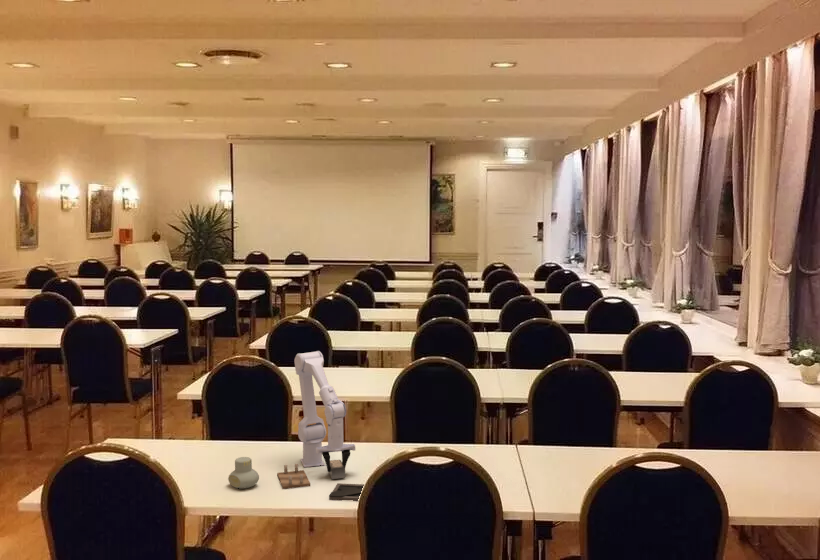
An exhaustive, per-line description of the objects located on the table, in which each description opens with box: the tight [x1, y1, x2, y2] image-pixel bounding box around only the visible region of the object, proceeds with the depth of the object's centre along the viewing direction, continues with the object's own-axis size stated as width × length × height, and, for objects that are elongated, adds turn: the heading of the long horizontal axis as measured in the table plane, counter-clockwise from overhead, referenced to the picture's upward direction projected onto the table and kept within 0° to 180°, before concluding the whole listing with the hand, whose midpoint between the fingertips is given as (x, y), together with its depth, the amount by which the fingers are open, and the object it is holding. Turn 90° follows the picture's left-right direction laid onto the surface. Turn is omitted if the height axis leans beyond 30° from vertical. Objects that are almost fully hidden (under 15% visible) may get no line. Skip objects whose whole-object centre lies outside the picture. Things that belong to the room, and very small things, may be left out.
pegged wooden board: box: [277, 463, 311, 490], centre depth 293 cm, size 15×10×4 cm, turn 17°
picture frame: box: [328, 482, 364, 502], centre depth 280 cm, size 13×2×18 cm
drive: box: [327, 459, 346, 480], centre depth 298 cm, size 9×5×4 cm, turn 17°
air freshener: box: [227, 456, 260, 490], centre depth 288 cm, size 11×8×10 cm
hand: (336, 470), depth 298 cm, fingers closed on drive, 5 cm apart
